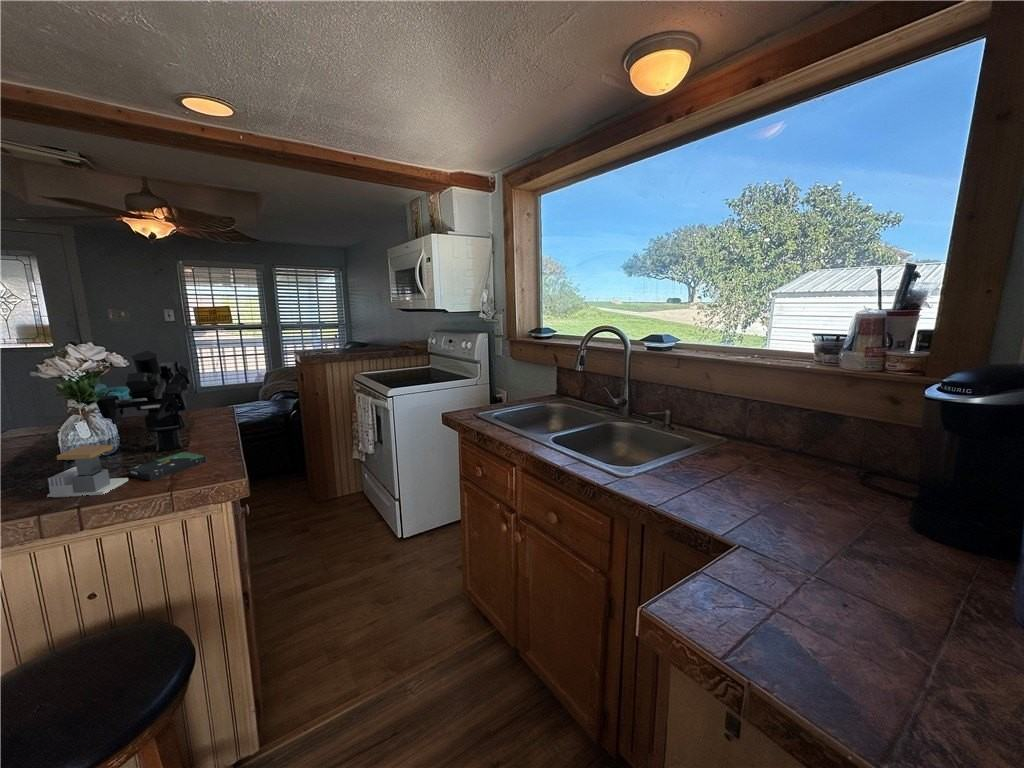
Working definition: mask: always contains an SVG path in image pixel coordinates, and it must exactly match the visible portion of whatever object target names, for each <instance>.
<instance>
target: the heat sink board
mask: <svg viewBox="0 0 1024 768" xmlns="http://www.w3.org/2000/svg"><path fill="white" fill-rule="evenodd" d="M128 481H129V477H120V478H119V477H118V478H110V475H109V470H108V469H102V470H101V471H99V472H97V473H94V474H92V475H78V472H77V468H76V466H74V467H70V468H69V469H67V470H64V471H62V472H60V473H57V474H55V475H52V476H51V477H48V478H47V482H48V488H49V493H48V494H47V495H46V496H47V498H48V497H53V498H66V497H69V498H70V496H71V497H85V496H86V495H89V496H102V495H103V494H104V495H105V493H106V494H107V493H109V492H110V490H111V491H113V490H115V489H117V488H118V487H120V486H122V485H123V484H125V483H127V482H128ZM112 489H113V490H112ZM82 495H83V496H82ZM104 495H103V496H104Z"/></svg>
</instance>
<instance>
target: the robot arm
mask: <svg viewBox="0 0 1024 768" xmlns="http://www.w3.org/2000/svg"><path fill="white" fill-rule="evenodd" d="M130 358H131V361H132V365H133V367H134V368H133V369H134V371H135V373H134V372H133V373H128V374H127V375H126V379H125V383H124V384H125V385H126V387H127V388H128V389H129V391H128V396H129V397H130V398H126V399H125V398H122V399H120V397H119V395H104V396H99V398H98V399H97V400H96V401H95V403H96V405H97V408H98V409H99V412H100V414H101V417H102V418H103V419H108V420H111V422H112V423H111V424H112V425H116V424H117V423H119V421H120V420H121V419H123V415H124V409H125V408H126V409H127V408H135V409H136V411H138V412H139V411H147V414H145V415H144V422H145V426H146V429H147V431H148V434H151V433H155V437H156V442H157V445H156V453H159V452H165V451H170V450H171V449H172V450H177V449H183V442H182V441H181V438H180V432H179V430H180V431H181V430H183V429H185V428H186V422H185V419H184V417H183V415H182V414H181V413H180V412H183V411H185V410H186V409H187V401H186V398H185V394H184V391H186V390H188V389H189V387H190V385H191V384H192V376H191V373H190V371H189V369H188V368H186V367H184V366H182V364H181V363H180V361H178V360H163V361H161V362H160V360H159V357H158V354H157V353H155V352H153V351H152V350H142V352H139V353H136V354H134V355H133V354H132V355H131V357H130Z"/></svg>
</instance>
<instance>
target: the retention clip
mask: <svg viewBox="0 0 1024 768" xmlns="http://www.w3.org/2000/svg"><path fill="white" fill-rule="evenodd" d="M113 449H114V446H113V444H101V445H97V444H96V445H81V446H78V447H76V448H73V449H71V450H68V451H65V452H63V453H59V454H57V455H56V460H57V461H58V460H59V461H60V460H63V461H64V460H74V462H75V467H76V468H77V472H78V475H92V474H94V473H97V472H99V471H101V470H103V469H102V465H101V459H100V456H99V455H102V454H104V453H106V452H108V451H111V450H113Z"/></svg>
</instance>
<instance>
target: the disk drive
mask: <svg viewBox="0 0 1024 768" xmlns="http://www.w3.org/2000/svg"><path fill="white" fill-rule="evenodd" d="M205 462H207V463H208V460H207V455H205V454H199V453H196V452H195V453H193V452H188V451H184V452H183V451H182V452H178V453H177V452H176V453H173V454H171V455H168V456H165V457H161V458H158V459H154V460H150V461H148V462H144V463H141V464H138V465H137V464H136V465H134V466H131V467H128V468H127V471H128V476H129V475H130V476H129V477H133V476H134V477H133V478H136V477H138V478H137V479H140V478H142V479H141V480H144V479H146V480H145V481H148V480H150V481H149V482H153V481H152V480H154V481H156V480H155V479H157V480H159V479H158V478H160V479H162V478H161V477H163V478H165V477H167V476H166V475H168V476H170V475H169V474H171V475H174V474H176V472H177V473H180V472H182V470H183V471H186V470H188V468H189V469H191V468H190V467H192V468H194V467H193V466H195V467H197V466H196V465H198V466H200V465H199V464H201V465H203V464H202V463H204V464H206V463H205ZM185 469H186V470H185ZM179 471H180V472H179ZM173 473H174V474H173ZM164 476H165V477H164Z"/></svg>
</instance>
